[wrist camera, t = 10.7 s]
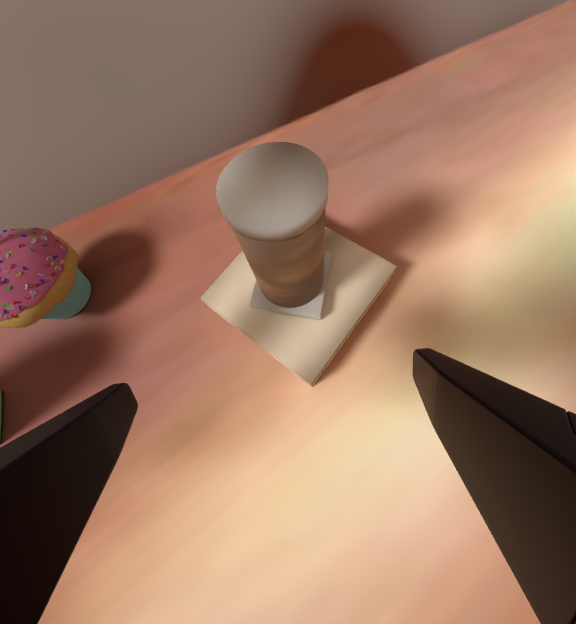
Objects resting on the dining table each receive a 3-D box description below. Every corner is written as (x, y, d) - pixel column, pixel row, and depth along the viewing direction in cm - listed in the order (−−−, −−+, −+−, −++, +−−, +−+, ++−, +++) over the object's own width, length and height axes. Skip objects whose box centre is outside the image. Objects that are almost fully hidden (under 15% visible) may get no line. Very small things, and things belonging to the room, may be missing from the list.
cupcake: (23, 282, 28) (-177, 197, 17) (100, 243, 29) (-45, 136, 17) (36, 356, 25) (-197, 312, 14) (121, 311, 26) (-38, 233, 14)
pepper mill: (330, 258, 22) (338, 142, 13) (320, 320, 20) (320, 238, 11) (267, 251, 23) (231, 137, 14) (252, 309, 21) (199, 226, 12)
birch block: (388, 283, 24) (396, 266, 21) (312, 387, 22) (310, 384, 19) (288, 224, 27) (284, 203, 24) (213, 311, 25) (200, 298, 22)
